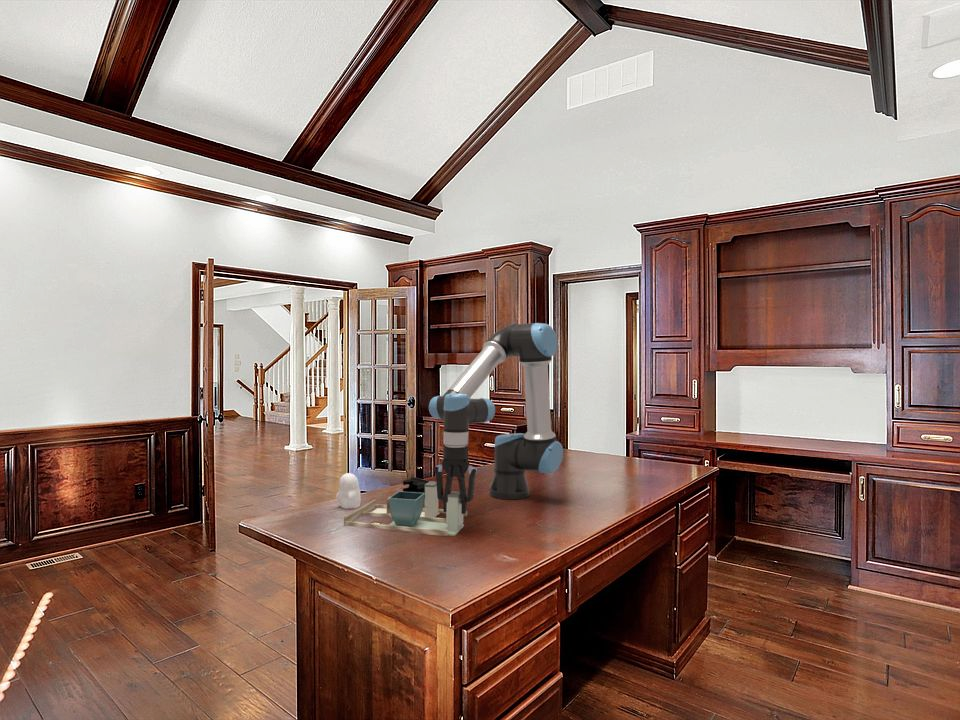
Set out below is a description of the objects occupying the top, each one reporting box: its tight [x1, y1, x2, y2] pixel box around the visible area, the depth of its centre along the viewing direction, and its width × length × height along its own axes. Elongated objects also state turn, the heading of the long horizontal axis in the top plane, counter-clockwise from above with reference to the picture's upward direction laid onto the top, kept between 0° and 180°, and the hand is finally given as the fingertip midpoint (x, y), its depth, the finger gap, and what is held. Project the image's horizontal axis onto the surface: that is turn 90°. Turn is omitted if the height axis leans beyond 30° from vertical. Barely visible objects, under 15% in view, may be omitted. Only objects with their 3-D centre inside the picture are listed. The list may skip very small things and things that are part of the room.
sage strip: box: [388, 490, 465, 537], centre depth 170 cm, size 22×10×11 cm, turn 76°
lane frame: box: [343, 499, 468, 537], centre depth 176 cm, size 33×22×3 cm
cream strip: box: [371, 480, 441, 518], centre depth 183 cm, size 22×8×11 cm, turn 76°
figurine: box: [336, 472, 362, 510], centre depth 191 cm, size 7×8×12 cm
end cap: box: [402, 476, 430, 499], centre depth 207 cm, size 10×7×7 cm
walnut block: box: [386, 495, 392, 514], centre depth 184 cm, size 5×5×5 cm
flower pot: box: [389, 490, 425, 527], centre depth 171 cm, size 9×9×9 cm
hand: (454, 523), depth 168 cm, fingers closed on sage strip, 3 cm apart
